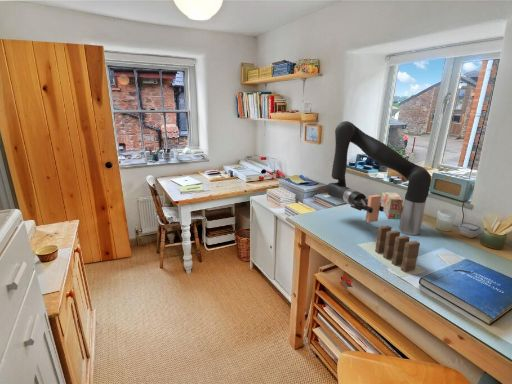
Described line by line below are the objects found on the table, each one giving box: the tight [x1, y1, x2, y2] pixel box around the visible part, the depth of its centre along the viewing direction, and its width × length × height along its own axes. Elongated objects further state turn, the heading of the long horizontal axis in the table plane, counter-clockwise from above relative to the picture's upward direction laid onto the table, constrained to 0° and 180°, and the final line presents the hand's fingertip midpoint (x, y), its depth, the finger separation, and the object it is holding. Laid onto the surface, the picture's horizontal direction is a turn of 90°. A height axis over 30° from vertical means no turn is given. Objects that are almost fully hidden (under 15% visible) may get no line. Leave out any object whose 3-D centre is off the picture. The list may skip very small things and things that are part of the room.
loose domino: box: [365, 194, 381, 223], centre depth 127 cm, size 2×5×12 cm, turn 106°
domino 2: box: [383, 229, 401, 259], centre depth 120 cm, size 2×5×12 cm, turn 107°
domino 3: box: [392, 234, 411, 266], centre depth 115 cm, size 2×5×12 cm, turn 107°
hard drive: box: [435, 253, 463, 267], centre depth 117 cm, size 2×8×12 cm
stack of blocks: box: [380, 191, 404, 220], centre depth 170 cm, size 21×6×12 cm, turn 170°
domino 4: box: [401, 240, 421, 272], centre depth 110 cm, size 2×5×12 cm, turn 107°
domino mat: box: [357, 240, 426, 278], centre depth 122 cm, size 27×12×1 cm, turn 17°
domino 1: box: [375, 225, 392, 254], centre depth 124 cm, size 2×5×12 cm, turn 107°
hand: (377, 210), depth 125 cm, fingers closed on loose domino, 5 cm apart
